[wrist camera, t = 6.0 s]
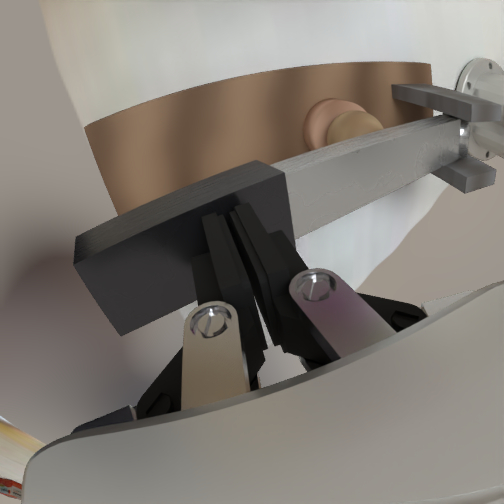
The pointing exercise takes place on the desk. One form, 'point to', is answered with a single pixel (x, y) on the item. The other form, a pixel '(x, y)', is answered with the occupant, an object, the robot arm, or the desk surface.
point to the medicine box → (10, 488)
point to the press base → (272, 124)
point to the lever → (263, 203)
